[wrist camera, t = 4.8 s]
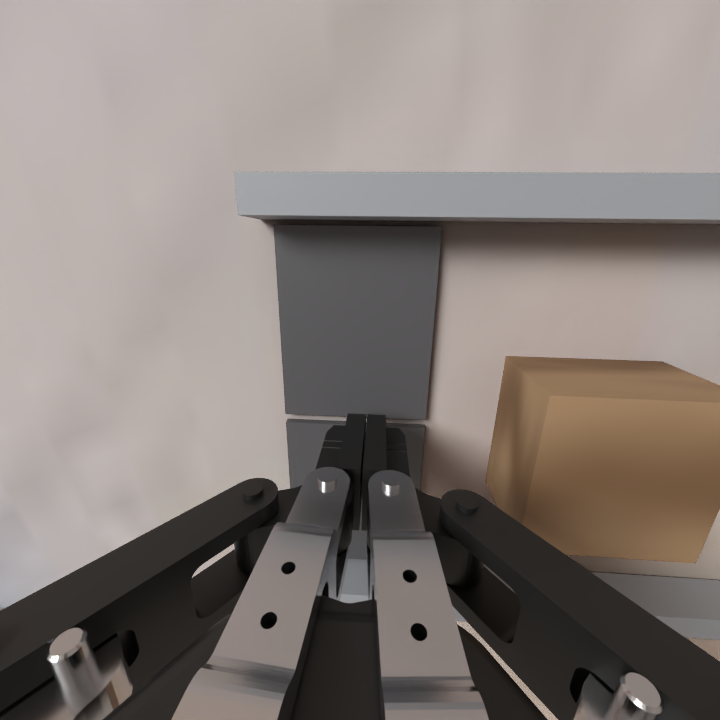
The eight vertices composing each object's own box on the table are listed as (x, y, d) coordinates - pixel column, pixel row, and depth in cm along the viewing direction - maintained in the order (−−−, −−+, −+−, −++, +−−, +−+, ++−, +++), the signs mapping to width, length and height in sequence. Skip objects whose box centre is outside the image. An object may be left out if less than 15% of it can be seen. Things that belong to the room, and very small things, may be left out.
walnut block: (504, 354, 14) (549, 395, 10) (658, 360, 14) (765, 404, 10) (484, 478, 16) (516, 551, 12) (619, 485, 15) (695, 563, 12)
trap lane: (256, 179, 12) (227, 165, 10) (1379, 184, 10) (1662, 167, 8) (286, 570, 18) (272, 617, 16) (998, 618, 16) (1098, 679, 14)
